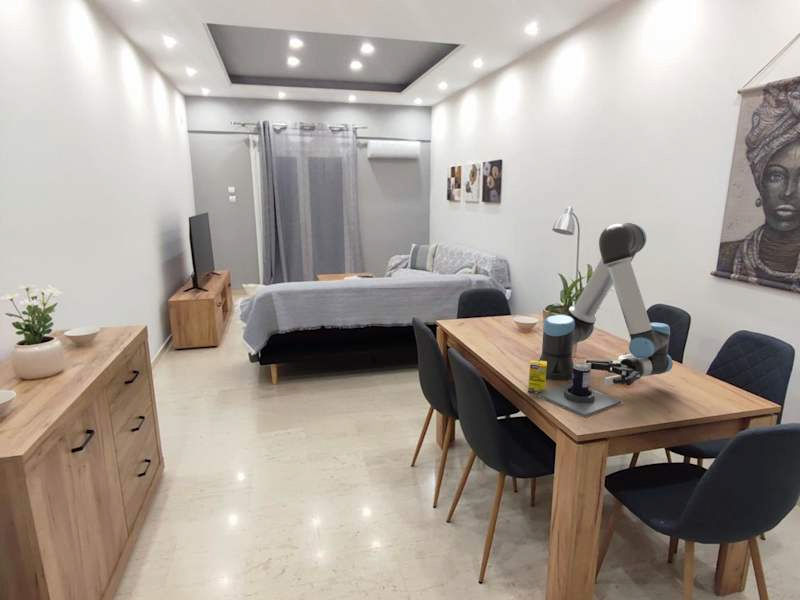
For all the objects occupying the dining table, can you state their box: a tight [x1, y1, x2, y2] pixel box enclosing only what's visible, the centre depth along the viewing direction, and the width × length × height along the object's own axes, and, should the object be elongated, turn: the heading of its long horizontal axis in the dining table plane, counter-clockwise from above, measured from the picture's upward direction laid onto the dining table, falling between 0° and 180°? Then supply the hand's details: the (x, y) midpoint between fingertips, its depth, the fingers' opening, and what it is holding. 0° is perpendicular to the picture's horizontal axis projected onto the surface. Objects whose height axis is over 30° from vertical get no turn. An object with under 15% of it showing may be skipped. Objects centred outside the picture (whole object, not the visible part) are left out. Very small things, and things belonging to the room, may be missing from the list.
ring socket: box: [537, 382, 623, 418], centre depth 167 cm, size 20×20×3 cm
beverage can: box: [571, 362, 591, 397], centre depth 166 cm, size 6×6×12 cm
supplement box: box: [527, 359, 547, 394], centre depth 174 cm, size 6×6×11 cm
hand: (589, 375), depth 166 cm, fingers open, 13 cm apart
